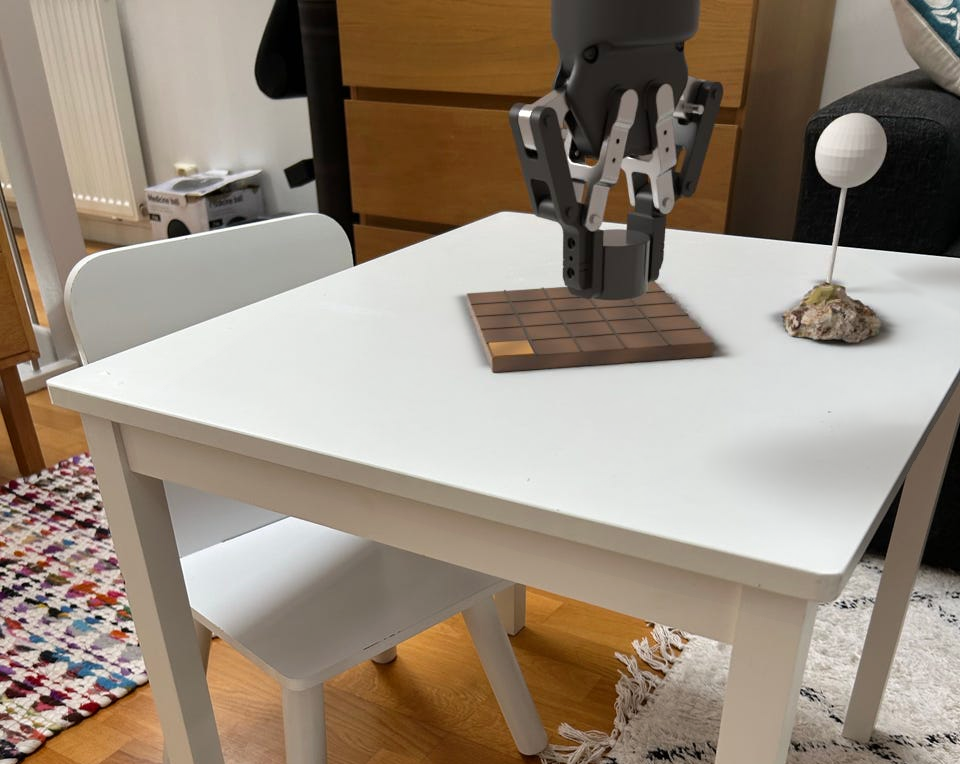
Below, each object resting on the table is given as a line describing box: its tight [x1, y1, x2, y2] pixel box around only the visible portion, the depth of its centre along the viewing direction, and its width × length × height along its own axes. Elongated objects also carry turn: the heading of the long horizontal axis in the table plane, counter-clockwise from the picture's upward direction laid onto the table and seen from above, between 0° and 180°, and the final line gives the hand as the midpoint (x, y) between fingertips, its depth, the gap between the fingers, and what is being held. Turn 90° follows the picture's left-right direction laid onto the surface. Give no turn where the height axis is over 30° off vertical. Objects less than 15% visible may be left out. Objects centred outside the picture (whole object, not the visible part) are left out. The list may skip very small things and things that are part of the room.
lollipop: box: [814, 112, 888, 284], centre depth 89 cm, size 6×6×15 cm
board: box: [466, 281, 714, 373], centre depth 86 cm, size 18×18×1 cm
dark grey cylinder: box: [592, 228, 651, 301], centre depth 58 cm, size 4×4×3 cm
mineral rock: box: [781, 281, 884, 344], centre depth 85 cm, size 11×4×8 cm
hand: (613, 285), depth 58 cm, fingers closed on dark grey cylinder, 4 cm apart
